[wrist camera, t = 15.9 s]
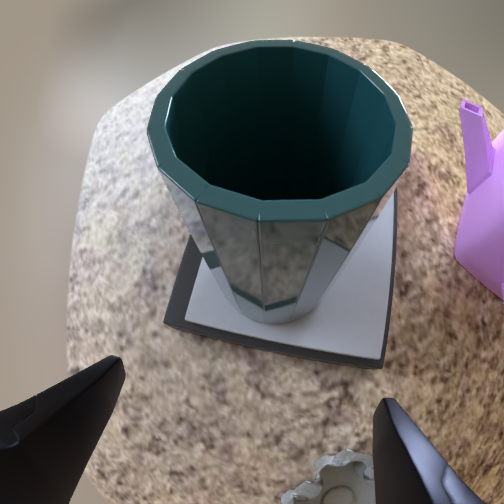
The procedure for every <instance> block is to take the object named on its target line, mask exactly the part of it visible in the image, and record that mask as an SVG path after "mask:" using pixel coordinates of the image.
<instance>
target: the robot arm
mask: <svg viewBox="0 0 504 504" xmlns="http://www.w3.org/2000/svg"><path fill="white" fill-rule="evenodd" d="M125 376H126V374H125V370H124V366H123V361H122V359H121V358H120V357H117V356H113V355H110V356H108V357H106V358H104V359H102V360H101V361H99V362H97V363H95V364H93V365H91V366H89V367H88V368H86V369H84V370H82V371H80V372H78V373H77V374H75V375H73V376H71V377H69V378H67V379H65V380H64V381H62V382H60V383H58V384H56V385H54V386H52V387H50V388H48V389H47V390H45V391H43V392H41V393H39V394H37V396H33V397H31V398H29V399H27V400H25V401H23V402H21V403H19V404H17V405H15V406H12V407H10V408H7V409H5V410H2V411H0V504H69V502H70V498H71V497H72V495H73V493H74V491H75V489H76V486H77V484H78V482H79V480H80V478H81V476H82V474H83V472H84V469H85V467H86V465H87V463H88V461H89V459H90V457H91V455H92V453H93V451H94V449H95V447H96V445H97V443H98V441H99V439H100V437H101V435H102V433H103V431H104V429H105V427H106V425H107V423H108V421H109V419H110V417H111V415H112V413H113V410H114V407H115V405H116V402H117V399H118V397H119V394H120V391H121V389H122V386H123V383H124V381H125ZM372 456H373V470H374V484H375V502H376V504H486V503H485V502H484V501H482V500H481V499H480V498H479V497H478V496H477V495H476V494H475V493H474V492H473V491H472V490H471V489H470V488H469V487H468V486H467V485H466V484H465V483H464V482H463V481H462V480H461V478H460V477H459V476H458V475H457V474H456V473H455V471H454V470H453V469H452V468H451V467H450V465H447V464H448V463H447V462H446V461H445V459H444V458H443V457H442V456H441V454H440V453H439V452H438V451H437V450H436V448H435V447H434V446H433V445H432V443H431V442H430V441H429V440H428V439H427V437H426V436H425V435H424V434H423V432H422V431H421V430H420V429H419V428H418V426H417V425H416V424H415V423H414V422H413V420H412V419H411V418H410V417H409V415H408V414H407V413H406V412H405V411H404V409H403V408H402V407H401V406H400V405H399V403H398V402H397V401H396V400H395V399H394V398H383V399H382V400H381V401H380V403H379V405H378V407H377V409H376V411H375V413H374V416H373V455H372Z"/></svg>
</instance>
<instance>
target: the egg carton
mask: <svg viewBox="0 0 504 504" xmlns="http://www.w3.org/2000/svg"><path fill="white" fill-rule="evenodd" d="M314 466H315V468H316V470H317V472H318V473H317V475H316V477H315V478H316V479H315V481H314V482H310V481H306V480H305V481H304V482H303V483H301V484H300V485H299V486H298V487H297V488H296V489H294V490H293V489H290V490H288V491H287V492H286V493H285V494H283V495H282V497H281V504H376V502H375V484H374V470H373V456H371V455H367V454H364V453H357V452H353V451H351V450H350V449H347V450H343V449H342V450H341V451H339V452H338V453H337V454H336V455H335V456H330V455H323V456H322V457H321V458H320V459H318V460H317V461H315V463H314Z"/></svg>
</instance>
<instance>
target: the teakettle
mask: <svg viewBox="0 0 504 504" xmlns="http://www.w3.org/2000/svg"><path fill="white" fill-rule="evenodd" d="M459 112H460V118H461V125H462V133H463V141H464V150H465V162H466V176H467V193H466V196H465V200H464V203H463V207H462V212H461V216H460V221H459V226H458V230H457V235H456V241H455V257H456V260H457V261H458V262H459V263H460V265H461V266H462V267H464V268H465V269H466V270H467V271H468V272H469V273H470V274H471V275H473V276H474V277H475V278H476V279H477V280H479V281H480V282H481V283H482V284H483V285H484V286H486V287H487V288H488V289H489V290H490V291H492V292H493V293H494V294H495V295H496V296H498V297H499V298H500V299H501V300H503V302H504V130H503V131H502V132H501V133H500V134H499V135H498V136H497V138H496V139H495V140H494V141H493V142H492V143H491V139H490V135H489V131H488V128H487V124H486V121H485V117H484V114H483V107H481V106H478V105H476V104H474V103H472V102H469V101H467V100H465V99H462V101H461V106H460V110H459Z"/></svg>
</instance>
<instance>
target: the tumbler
mask: <svg viewBox="0 0 504 504" xmlns="http://www.w3.org/2000/svg"><path fill="white" fill-rule="evenodd" d="M412 134H413V128H412V124H411V122H410V119H409V117H408V115H407V113H406V110H405V108H404V106H403V104H402V102H401V99H400V97H399V95H397V93H396V92H395V91H394V90H393V89H392V88H391V87H390V86H389V85H388V84H387V83H386V82H385V81H384V80H383V79H382V78H381V77H380V76H379V75H378V74H377V73H376V72H375V71H374V70H373V69H371V68H370V67H369V66H367V65H365V64H363V63H361V62H359V61H357V60H355V59H353V58H351V57H350V56H348V55H346V54H344V53H341V52H339V51H337V50H334V49H332V48H328V47H324V46H320V45H315V44H311V43H306V42H301V41H294V40H255V41H249V42H245V43H241V44H236V45H233V46H229V47H225V48H221V49H218V50H215V51H212V52H210V53H208V54H207V55H205V56H203V57H201V58H199V59H198V60H196V61H194V62H192V63H190V64H189V65H187V66H185V67H184V68H182V69H181V70H179V71H178V73H177V74H176V75H175V76H174V77H173V78H172V79H171V80H170V81H169V82H168V84H167V85H166V86H165V87H164V88H163V89H162V90H161V92H160V93H159V94H158V95H157V97H156V99H155V102H154V105H153V109H152V112H151V116H150V119H149V123H148V127H147V136H148V139H149V143H150V146H151V149H152V153H153V156H154V159H155V163H156V166H157V168H158V170H159V172H160V174H161V176H162V178H163V180H164V182H165V184H166V186H167V188H168V190H169V192H170V194H171V196H172V198H173V200H174V202H175V204H176V206H177V208H178V210H179V212H180V214H181V216H182V218H183V220H184V222H185V224H186V226H187V228H188V230H189V231H190V233H191V235H192V237H193V239H194V241H195V243H196V245H197V247H198V249H199V250H200V252H201V254H202V256H203V258H204V260H205V262H206V264H207V265H208V267H209V269H210V271H211V273H212V275H213V277H214V278H215V280H216V282H217V284H218V286H219V287H220V289H221V291H222V293H223V295H224V297H225V298H226V299H227V300H228V301H229V303H230V304H231V305H232V306H233V307H234V308H235V309H236V310H237V311H238V312H239V313H240V314H242V315H243V316H245V317H247V318H249V319H251V320H253V321H256V322H259V323H263V324H269V325H279V324H286V323H291V322H294V321H296V320H299V319H301V318H302V317H304V316H306V315H307V314H309V313H310V312H311V311H312V310H313V309H314V308H315V307H317V305H318V304H319V303H320V301H321V300H322V299H323V298H324V297H325V296H326V294H327V293H328V292H329V290H330V289H331V287H332V286H333V284H334V283H335V282H336V280H337V279H338V277H339V276H340V274H341V273H342V271H343V270H344V269H345V267H346V266H347V264H348V263H349V261H350V260H351V258H352V257H353V255H354V254H355V252H356V251H357V249H358V248H359V246H360V245H361V243H362V242H363V240H364V238H365V237H366V235H367V234H368V232H369V231H370V229H371V228H372V226H373V224H374V223H375V221H376V220H377V218H378V216H379V215H380V213H381V212H382V210H383V208H384V207H385V205H386V203H387V202H388V200H389V199H390V197H391V195H392V194H393V192H394V190H395V189H396V187H397V185H398V183H399V182H400V180H401V178H402V177H403V175H404V173H405V171H406V170H407V168H408V165H409V163H410V155H411V145H412Z"/></svg>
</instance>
